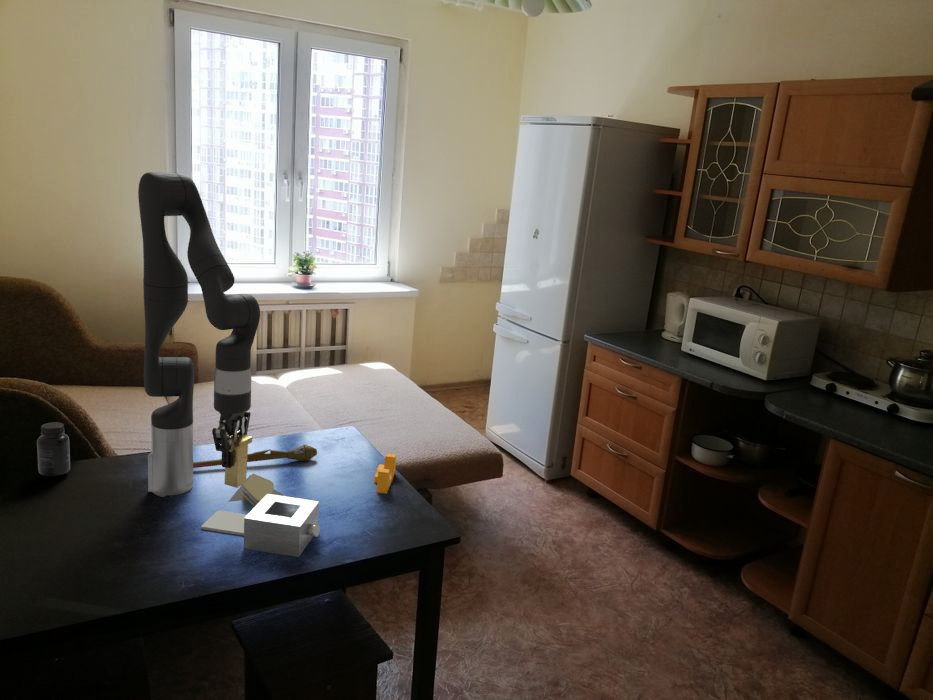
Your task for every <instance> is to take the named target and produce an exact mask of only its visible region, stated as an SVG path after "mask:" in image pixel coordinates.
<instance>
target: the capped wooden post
mask: <svg viewBox="0 0 933 700" xmlns="http://www.w3.org/2000/svg"><path fill="white" fill-rule="evenodd" d="M228 436H229V437H232V435H228ZM252 443H253V436H250V435H248V434H247V435H237V439H236V440H235V441H233V442H232V447H233V466H232V467H231V468H225V467H224V485H226V486H229V487H232V488H236V489H239V488H240V487H241V485H243V484H244V483H246V479H247V473H248V472H247V471H248V462H247V454H249V453H248V450H249V448H248V447H249V444H252ZM228 444H229V441H228Z"/></svg>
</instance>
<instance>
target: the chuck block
mask: <svg viewBox="0 0 933 700" xmlns="http://www.w3.org/2000/svg"><path fill="white" fill-rule="evenodd" d="M319 512H320V501H318V500H311V499H306V498H299V497H292V496H285V495H284V496H279V495H272V494H267V495H266V496H265V497H264V498H263V499H262V500H261V501H260V502H259V503H258V504H257V505H256V506H254V507H253V508H252V509H251V510H250V511H249V512H248V513H247V514H246V515H247V516H246V517H245V518H244V536H243V550H249V551H250V550H251V551H258V552H263V553H271V554H277V555H283V556H290V557H295V558H296V557H297V558H299V557H300V556H301V555H302V553H303V552H304V550H305V549H306V548H307V546H308V545H309V544H310V542H311V541H312V539H313V538H314V537H317V538H318V537H319V535H320V532H321V526H320V525H319Z"/></svg>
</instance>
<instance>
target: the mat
mask: <svg viewBox="0 0 933 700" xmlns="http://www.w3.org/2000/svg"><path fill="white" fill-rule="evenodd" d="M247 515H248V514H244V513H240V512H239V513H238V512H232V511H227V510H226V511H225V510H219V509H218V510H217V511H215V512H214V513H213V514H212V515H211V516H210V517H209V518H208V519H207V520H206V521H205V522H204V523H203V524H202V525H201V526H200V530H206V531H210V532H211V531H213V532H218V533H225V534H232V535H238V536H243V537H244V518H245V517H246V516H247Z"/></svg>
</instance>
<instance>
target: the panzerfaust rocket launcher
mask: <svg viewBox="0 0 933 700" xmlns="http://www.w3.org/2000/svg"><path fill="white" fill-rule="evenodd" d="M268 452H269V453H268ZM317 455H318V450H317V448H315V447H313V446H311V445H308V444H303V445H300V446H298V447H294V448H292V449H290V450H287V451H286V450H285V451H284V450H276V449H274V450H273V449H271V448H270V449H265V450H261V451H255V452H252V453H248V454H247V463H253V462H261V461H262V462H263V461H271V460H278V459H279V460H280V459H288V460H295V461H301V462H305V463H306V462H309V460H311V459H313V458H315V457H316V456H317ZM214 466H216V467H217V466H222V458H220V459H211V460H201V461H193V469H197V468H205V467H208V468H209V467H214Z"/></svg>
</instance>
